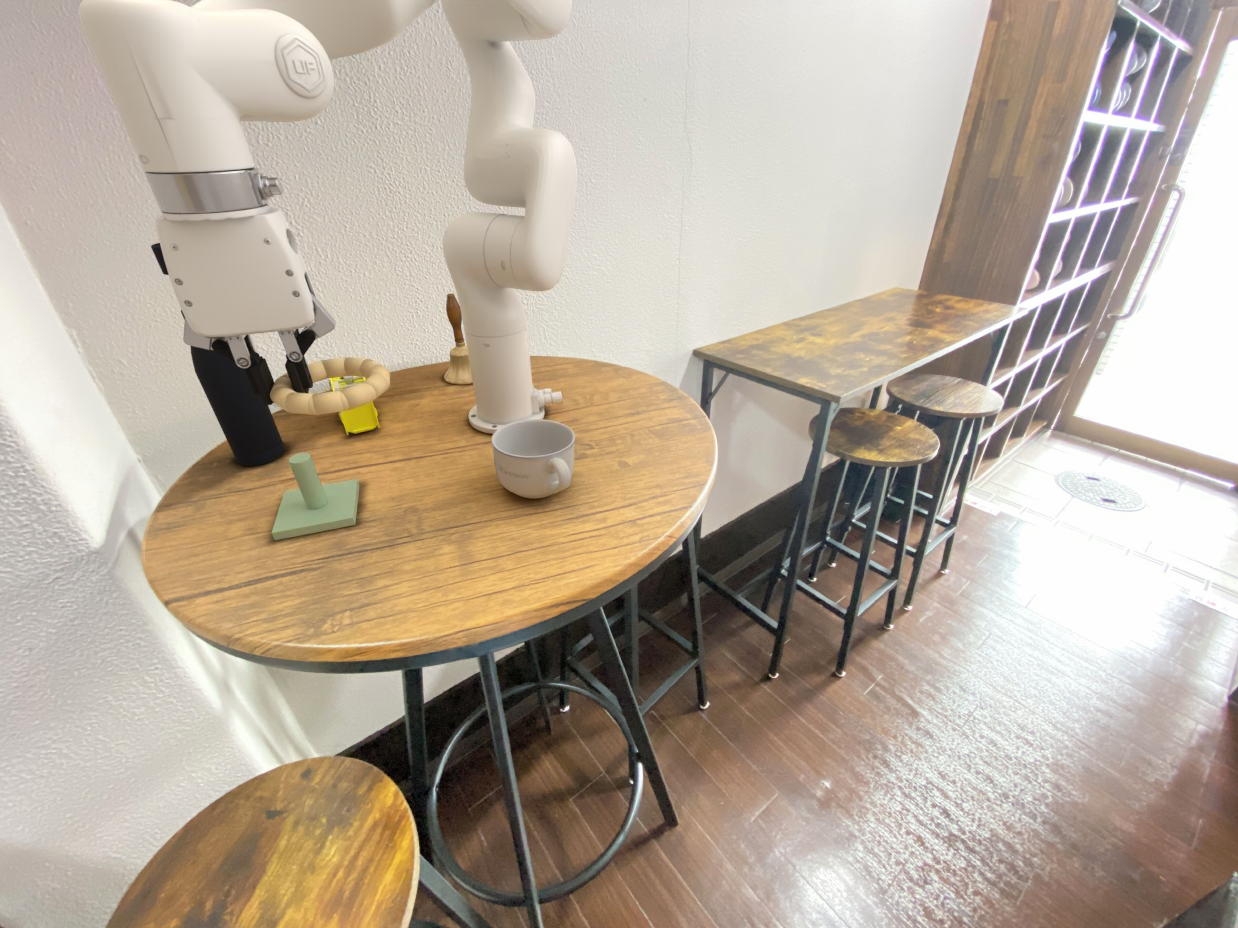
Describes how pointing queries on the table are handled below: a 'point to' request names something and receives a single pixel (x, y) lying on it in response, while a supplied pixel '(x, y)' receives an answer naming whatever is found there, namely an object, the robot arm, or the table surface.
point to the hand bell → (457, 347)
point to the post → (314, 502)
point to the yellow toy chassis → (357, 417)
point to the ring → (337, 399)
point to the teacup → (534, 457)
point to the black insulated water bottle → (234, 402)
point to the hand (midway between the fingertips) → (287, 396)
